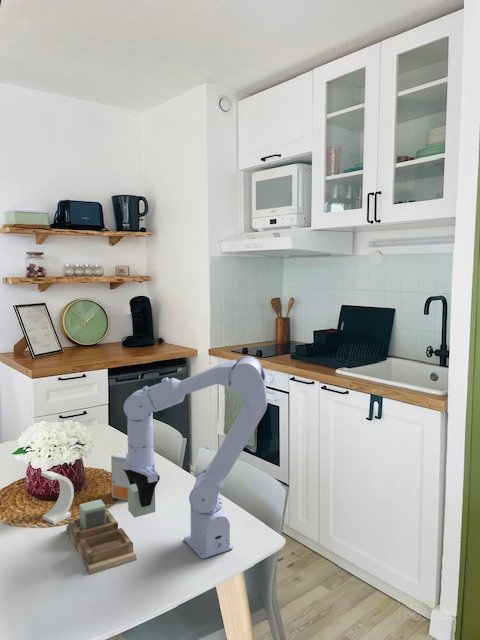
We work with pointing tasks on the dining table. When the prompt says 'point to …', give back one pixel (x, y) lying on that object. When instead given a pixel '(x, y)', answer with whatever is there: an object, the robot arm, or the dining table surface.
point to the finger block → (138, 502)
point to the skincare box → (119, 476)
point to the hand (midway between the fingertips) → (141, 501)
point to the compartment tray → (101, 544)
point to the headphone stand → (60, 498)
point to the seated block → (92, 514)
